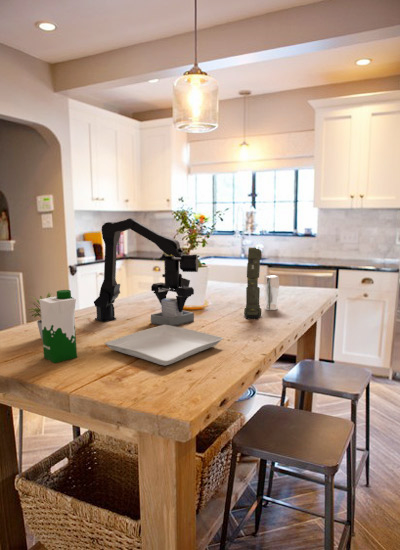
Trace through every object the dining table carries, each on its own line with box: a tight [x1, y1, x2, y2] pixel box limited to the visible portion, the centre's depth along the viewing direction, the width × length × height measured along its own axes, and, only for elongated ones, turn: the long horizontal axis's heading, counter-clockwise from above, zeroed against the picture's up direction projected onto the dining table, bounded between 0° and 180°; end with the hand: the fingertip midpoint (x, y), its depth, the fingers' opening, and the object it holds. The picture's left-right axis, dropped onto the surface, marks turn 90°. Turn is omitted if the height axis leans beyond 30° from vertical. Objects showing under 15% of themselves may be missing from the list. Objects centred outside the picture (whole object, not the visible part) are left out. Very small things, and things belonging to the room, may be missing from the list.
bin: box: [150, 310, 195, 327], centre depth 161 cm, size 14×11×4 cm
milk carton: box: [38, 289, 78, 364], centre depth 120 cm, size 9×9×20 cm
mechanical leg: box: [243, 247, 262, 320], centre depth 171 cm, size 14×7×30 cm, turn 168°
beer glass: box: [263, 274, 280, 311], centre depth 183 cm, size 7×7×15 cm
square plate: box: [104, 325, 224, 366], centre depth 128 cm, size 27×27×4 cm
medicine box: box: [160, 297, 184, 318], centre depth 161 cm, size 8×4×9 cm, turn 49°
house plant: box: [28, 292, 57, 341], centre depth 141 cm, size 14×14×16 cm
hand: (172, 310), depth 161 cm, fingers open, 9 cm apart
